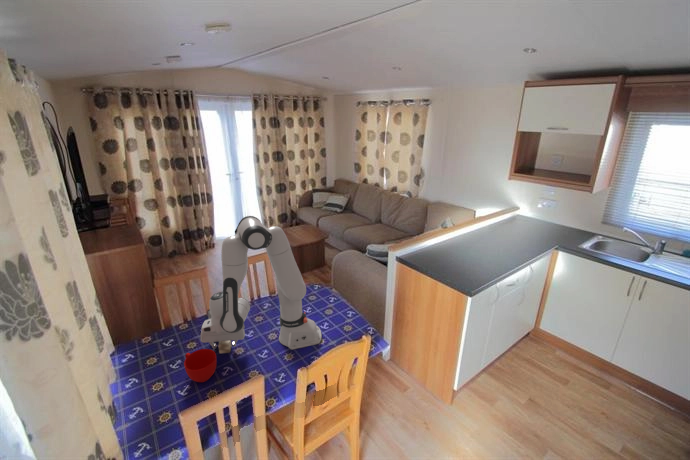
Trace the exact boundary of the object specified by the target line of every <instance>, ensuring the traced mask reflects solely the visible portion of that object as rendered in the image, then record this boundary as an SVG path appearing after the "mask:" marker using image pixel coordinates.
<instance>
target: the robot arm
mask: <svg viewBox="0 0 690 460" xmlns="http://www.w3.org/2000/svg"><path fill="white" fill-rule="evenodd" d="M234 234H235V235H231V236H228V237H225V239H223V241H222V243H221V244H222V245H221V254H220V255H221V257H220V258H221V269H222V291H218V292H216V293H214V294H212V296H211V297H210V298H209V307H208V308H209V309H210V314H211V319H209V318H208V319H205V320H204V322H203V323H202V325H201V329H200V330H201V332H200V337H199V338H200V342H201V343H208V344H209V345H210V346H211V347H212V349H217V342H218V343H219V342H220V341H230V340H231V341H232V347H233V348H234V347H236V346H237V343H238V341H239V340H244V338H245V335H246V332H245V327H246V326H245V321H246V319H247V317H248V315H249V312H250V310H251V304H250V302H249V300H248V299H246V298H244V297H239V293H240V289H241V286H242V284H243V282H244V280H245V279H246V276H247V273H248V268H249V267H248V266H249V260H248V259H249V257H248V256H249V255H248V251H249V249H250V250H253V251H257V250H261V249H265V251H266V254H267V257H268V260H269V262H270V264H271V267H272V271H274V277H275V284H276V289H277V291H276V292H277V297H278V301H279V312H280V315H279V325H280V330H279V337H278V341H279V343H280V344H281V345H283V346H286V347H288V348H289V350H297V349H302V348H306V347H310V346H311V347H312V346H314V345H315V346H316V345H318V344H320V343H321V341H322V337H323V335H322V331H321V328H320V327H319V326H318V325H317V324H316V322H315V321H314V320H313V319H310V318H308V317H307V314H306V311H304V312H303V300H302V299H303V298H304V297H305V296H306V294H307V287H306V283H305V280H304V279H303V276H302V273H301V271H300V268H299V266H298V264H297V262H296V259H295V257H294V254H293V249H292V247H291V244H290V241H289V239H288V237H287V235H286V233H285V231H284V230H283V228H282V227H280V226H276V225H275V226H270V227H266V226H265V225H264V224H263V223H262V222H261V220H260V219H259V218H258V217H255V216H254V215H247V216H244V217H242V218H241V219H240V220H239V222H238V225H237V227H236V229H235V230H234ZM209 309H208V310H209Z"/></svg>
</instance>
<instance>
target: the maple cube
mask: <svg viewBox="0 0 690 460" xmlns="http://www.w3.org/2000/svg"><path fill="white" fill-rule="evenodd" d="M232 344H233V342H232V340H230V341H218V346H217V347H218V352H219V354H229V353H231V350H232V347H233V345H232Z"/></svg>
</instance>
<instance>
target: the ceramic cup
mask: <svg viewBox="0 0 690 460" xmlns="http://www.w3.org/2000/svg"><path fill="white" fill-rule="evenodd" d="M184 357H185V359H184V362H183V365H184V366H183V367H184V370H185V373H186V375H187V376H188V377H189V379H191V381H194V382H196V383H206V382H207V381H208V380H209V379H210V378H211V377H212V376H213V375H214V373H215V372H216V370H217V363H218V361H217V354H216V352H215V350H213V349H209V348H202V349H198V350H195V351H193V352H191V353H190V352H187V353H185V355H184Z"/></svg>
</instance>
